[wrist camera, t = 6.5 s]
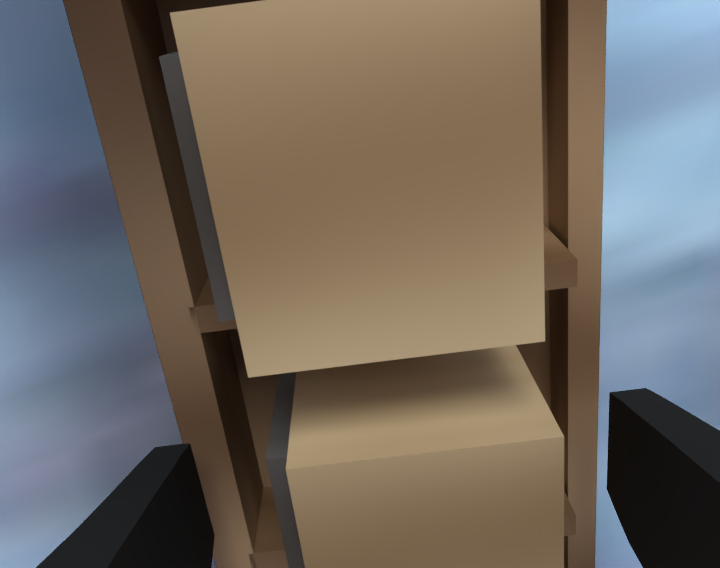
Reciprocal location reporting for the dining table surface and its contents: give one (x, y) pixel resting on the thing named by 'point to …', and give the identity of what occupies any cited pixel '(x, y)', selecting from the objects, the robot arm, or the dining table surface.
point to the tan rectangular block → (418, 465)
